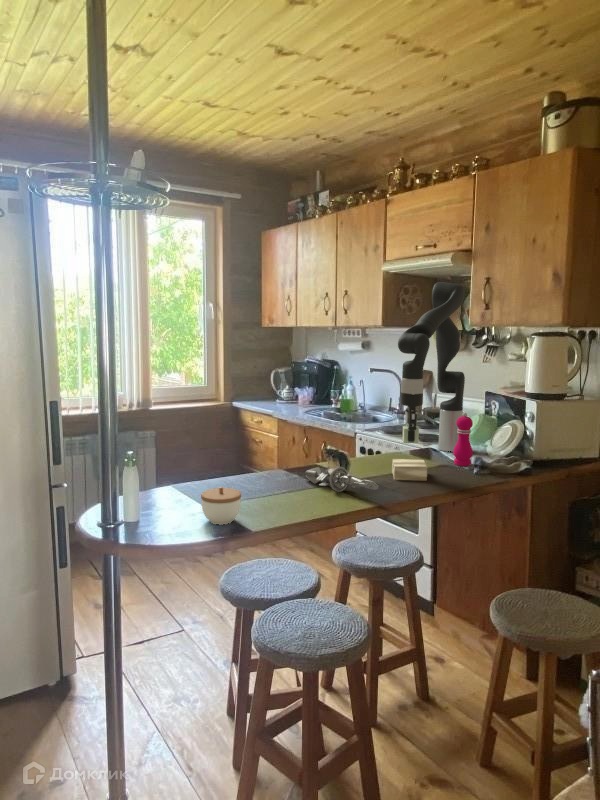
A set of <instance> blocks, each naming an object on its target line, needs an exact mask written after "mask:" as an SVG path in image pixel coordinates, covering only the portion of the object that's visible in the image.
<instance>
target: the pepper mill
mask: <svg viewBox="0 0 600 800" xmlns="http://www.w3.org/2000/svg"><path fill="white" fill-rule="evenodd" d="M473 422H474V421H473V420H472V418H471V417H469V416H468V413H467V412H465V411H464V412H462V417H459V418H458V419H457V422H456V425H457V427H458V429H457V430H458V431H457V433H458V441H457V444H456V446H455V447H454V451H453V452H452V453H453V456H454V457H455V458H454V460H453V464H454V465H456V466H460V467H469V465H470V464H471V465H472V460H471V458H472V457H473V454H474V451H473V448H472V445H471V442H470V435H471V433H472V429H471V428H472V427H473V425H474V423H473ZM471 465H470V466H471Z"/></svg>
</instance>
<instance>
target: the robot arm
mask: <svg viewBox="0 0 600 800" xmlns="http://www.w3.org/2000/svg"><path fill="white" fill-rule="evenodd" d="M465 293H466V292H465V288H464V286H463V285H462V284H460V283H453V282H445V281H437V282H436V283H434V285H433V288H432V291H431V302H432V303H431V304H432V309H430V310H428V311H427V312H425V313H423V314H422V315H421V316H420V317H419V319H418V321H417V322H416V323H415V324H414V325H412V326H411V327H409V328H408V329H406V330H405V331H404V332H403V333H402V334H401V335H400V336H399V338H398V341H397V348H398V350H399V351H400V352H401V353H402V354H409V355H410V354H411V355H414V358H413V359H412V360H406V361H403V362H402V373H401V374H402V376H401V377H402V378H401V383H400V384H401V385H400V387H401V388H400V404H401V406H404V407H406V408H405V410H404V414H405V426H408V441H409V442H414V441H415V430H416V427H417V424H418V410H416V408H417V407H421V406H423V404H424V366H425V361H426V358H427V355H428V352H429V350H430V344H431V343H430V342H431V341H430V339H431V338H432V337H433V335H434V334H435V346H436V347H435V348H436V357H437V374H436V375H437V383H436V384H437V389H438V391H439V393H442V394H454V395H455V396H453V397H452V398H450V399H448V400H444V401H442V402H440V403H439V404H440V405H439V420H438V421H439V422H438V423H439V426H438V427H439V428H438V447H437V449H438V450H439V451H442V452H448V451H449V452H448V453H453V451H454V447H455V446H456V444H457V441H458V433H457V431H458V430H457V429H458V427H457V425H456V422H457V419H458V418H459V417H462V416H463V415H462V414H463V413H464V412H463V411H464V410H463V407H464V406H463V405H464V393H465V392H464V391H465V383H466V382H465V381H466V378H465V373H464V372H463V371H453V370H446V369H448V368H447V367H448V366H449V364H450V363H451V362H452V361H453V360H454V358H455V357H456V356H457V355H458V353H459V351H460V349H461V334H460V331H459V329H458V327H457V326H456V324H455V323H454V321H453V320H452V318H451V317H450V316H452V314H454V313H455V312H456V311H457V310H458V309H459V308H460V307H461V306H462V304H463V302H464V299H465ZM412 426H414V427H412ZM450 451H451V452H450Z"/></svg>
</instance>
